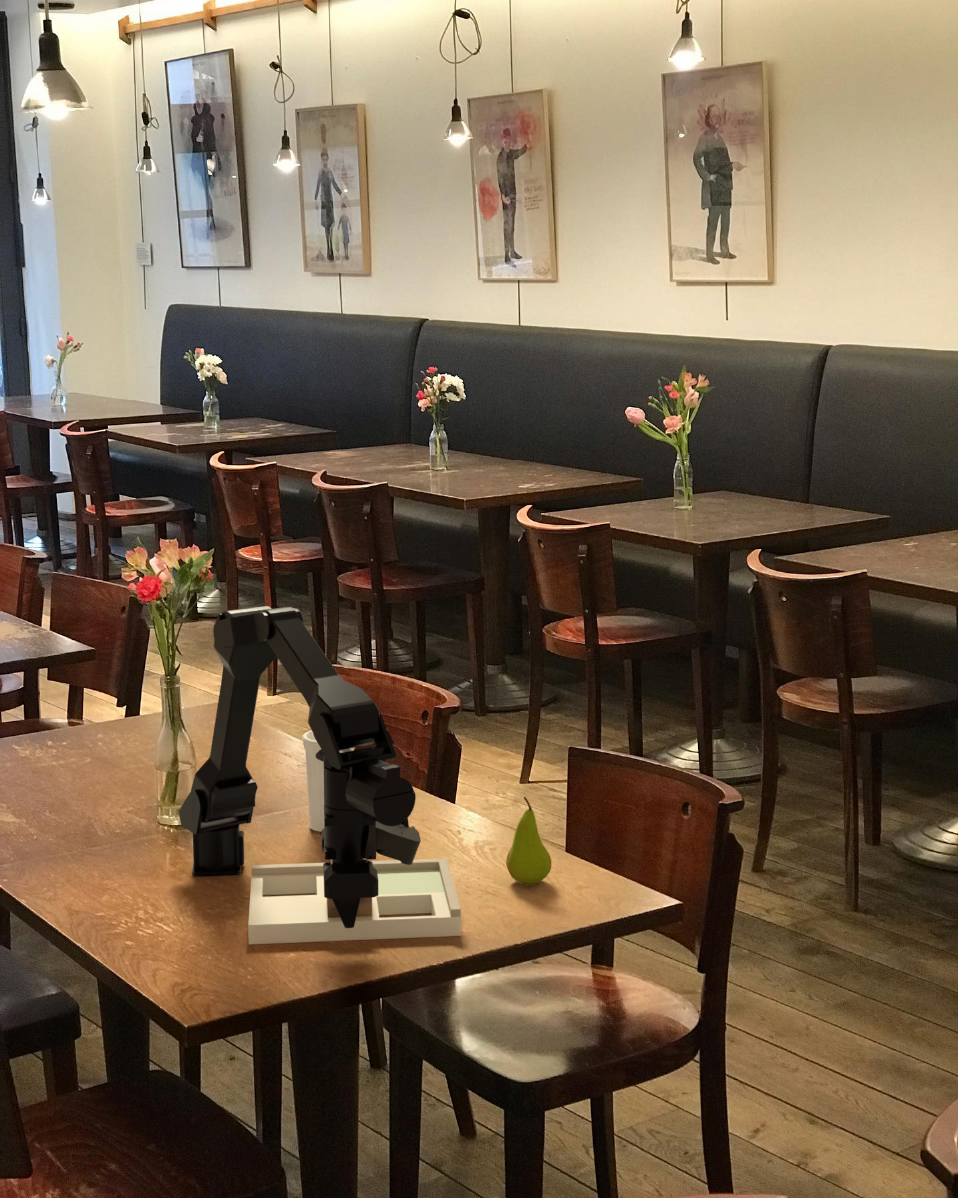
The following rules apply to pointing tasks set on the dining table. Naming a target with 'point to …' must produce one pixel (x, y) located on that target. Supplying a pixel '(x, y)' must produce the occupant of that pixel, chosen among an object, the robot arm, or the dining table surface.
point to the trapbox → (398, 893)
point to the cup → (315, 782)
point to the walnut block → (363, 908)
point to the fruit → (528, 852)
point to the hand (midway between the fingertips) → (349, 927)
